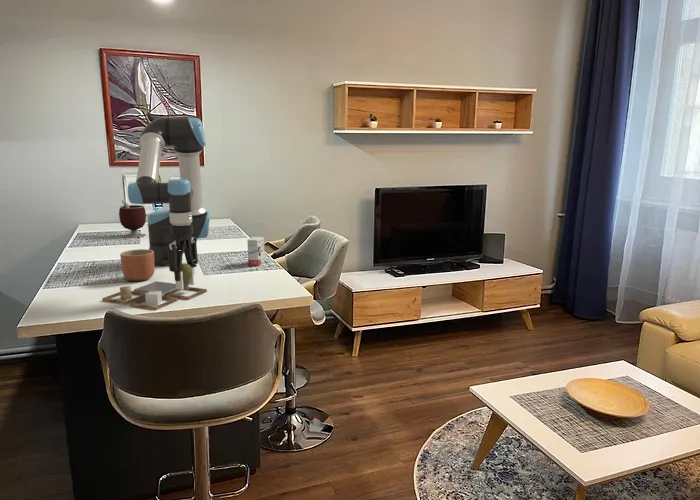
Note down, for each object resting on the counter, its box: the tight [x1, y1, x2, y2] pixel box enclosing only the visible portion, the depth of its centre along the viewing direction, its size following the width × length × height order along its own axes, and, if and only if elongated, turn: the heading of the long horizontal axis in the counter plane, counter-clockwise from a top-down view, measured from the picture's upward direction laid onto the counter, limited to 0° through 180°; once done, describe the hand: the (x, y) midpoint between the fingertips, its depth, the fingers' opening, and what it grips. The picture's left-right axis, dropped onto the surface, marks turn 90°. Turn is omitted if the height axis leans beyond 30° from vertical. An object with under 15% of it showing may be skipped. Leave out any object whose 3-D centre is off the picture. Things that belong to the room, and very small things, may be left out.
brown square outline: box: [163, 286, 208, 301], centre depth 190 cm, size 11×11×1 cm
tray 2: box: [129, 295, 178, 311], centre depth 179 cm, size 11×11×1 cm
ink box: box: [247, 236, 266, 267], centre depth 235 cm, size 9×5×12 cm, turn 168°
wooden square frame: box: [101, 290, 146, 305], centre depth 185 cm, size 11×11×1 cm
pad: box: [133, 280, 176, 295], centre depth 197 cm, size 12×12×1 cm
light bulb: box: [177, 262, 193, 292], centre depth 189 cm, size 6×6×10 cm
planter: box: [119, 248, 156, 282], centre depth 208 cm, size 12×12×11 cm
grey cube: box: [145, 291, 163, 306], centre depth 179 cm, size 4×4×4 cm
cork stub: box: [119, 285, 133, 301], centre depth 184 cm, size 4×4×4 cm
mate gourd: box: [118, 200, 147, 239], centre depth 296 cm, size 16×14×20 cm
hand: (185, 286), depth 190 cm, fingers closed on light bulb, 5 cm apart
